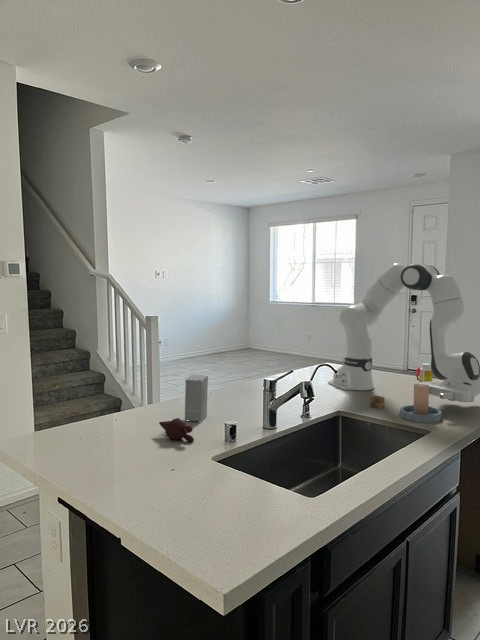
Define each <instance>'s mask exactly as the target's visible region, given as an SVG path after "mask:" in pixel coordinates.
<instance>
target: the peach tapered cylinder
mask: <svg viewBox="0 0 480 640" xmlns="http://www.w3.org/2000/svg"><path fill="white" fill-rule="evenodd" d="M429 395H430V394H429V385H426V384H418V383H415V384H413V402H412V403H413V404H412V405H413V414H419V415H428V406H430V404H429V403H430V402H429V401H430V400H429V399H430V398H429V397H430V396H429Z"/></svg>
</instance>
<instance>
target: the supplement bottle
mask: <svg viewBox="0 0 480 640" xmlns="http://www.w3.org/2000/svg"><path fill="white" fill-rule="evenodd" d="M420 367H421V368H420V375H419V383H420V382H433V373H432V371H431V363H426V362H425V363H421V366H420Z"/></svg>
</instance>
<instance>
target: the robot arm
mask: <svg viewBox="0 0 480 640" xmlns="http://www.w3.org/2000/svg"><path fill="white" fill-rule="evenodd" d="M404 288H407V289H408V290H411V291H412V290H413V291H426V292H428V293H429V295H430V298H431V303H432V306H433V307H432V308H433V313H432V314H433V315H432V318H431V319H430V321H429V339H430V342H429V343H430V354H431V357H430V358H431V360H430V364H431V371H432V375H434V377H435V378H437V379H439V380H440V381H442V383H440V382H435V381H432V382H420V381H419V382H418V383H417V384H426V385H429V395H431V396H434V397H439V399H442V400H448V401H449V402H460V403H473V402H474V401H475V397H477V396H479V395H480V362H479V360H478V358H476V356H475V355H474V354H473V353H471V352H469V351H464V352H463V351H462V352H457V353H456V352H455V353H451V354H447V353H446V343H445V334H446V332H447V330H448V329H449V328H450V327H451V326H452V325H454V324H455V323H457V322H458V321H459V320H460V319H461V318H462V316H463V314H464V310H465V309H464V308H465V307H464V301H463V298H462V295H461V291H460V288H459V285H458V284H457V281H456V279H455V278H454V276H452V275H451V274H440V272H439V270H438V269H437V268H436V267H434V266H432V265H428V264H425V263H420V264H419V263H412V264H409V265H407V266H406V265H405V264H403V263H400V262H396V263H395V262H394V263H392V264H391V265H390V266H389V267H387V268H386V269H385V270H384V271H383V272H382V273H381V274H380V275H379V276H378V277H377V278H376V279H375V280H374V281H373V282H372V284H371V285H370V286H369V287H368V288H367V289H366V292H365V295H364V297H363V299H362V300H361V301H360V302H359V303H358V304H351V305H348V306H346V307H345V308H343V309H342V310H341V311H340V313H339V322H340V324H341V325H342V326H343V329H344V332H345V337H346V357H342V361H344V362H343V364H342V365H341V366H340V367H339V368H337V369H336V370H335V371H337V373H335V371H334V372H333V378H332V379H331V380H328V382H327V384H328V385H331V386H334V387H337V388H338V389H341V390H345V391H349V390H350V391H369V390H374V389H375V386H374V385H375V384H374V379H373V369H372V366H373V357H372V345H373V343H372V340H371V337H370V335H369V331H368V327H371V326H373V325H374V324H375V323H377V321H378V320H379V317H380V315H381V314H382V312H383V311H384V309H385V308H386V307H387V306H388V305H389V303H390V302H391V301H392V300H393V299H394V298H395V297H396V296H397V295H398V294H399V293H400V291H402V290H403V289H404Z"/></svg>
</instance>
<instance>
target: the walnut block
mask: <svg viewBox="0 0 480 640" xmlns="http://www.w3.org/2000/svg"><path fill="white" fill-rule="evenodd" d="M382 407H383V408H384V407H385V397H384V396H379V395H373V396H371V397H370V408H372V409H373V408H374V409H378V410H379V409H380V410H381V409H383V408H382Z"/></svg>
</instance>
